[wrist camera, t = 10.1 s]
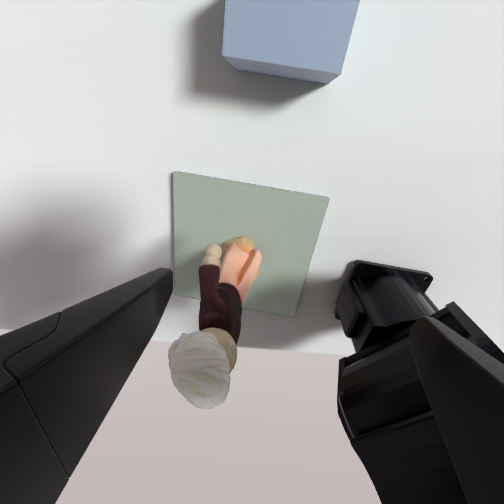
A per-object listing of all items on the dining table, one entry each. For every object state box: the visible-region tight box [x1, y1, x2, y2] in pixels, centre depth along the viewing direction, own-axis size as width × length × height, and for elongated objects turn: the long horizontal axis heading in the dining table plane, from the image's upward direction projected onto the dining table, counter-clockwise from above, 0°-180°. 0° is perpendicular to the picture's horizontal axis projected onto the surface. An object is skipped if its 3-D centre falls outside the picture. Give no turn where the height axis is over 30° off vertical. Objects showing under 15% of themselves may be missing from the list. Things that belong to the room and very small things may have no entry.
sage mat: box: [173, 171, 329, 317], centre depth 22 cm, size 12×12×1 cm
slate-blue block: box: [222, 0, 360, 84], centre depth 13 cm, size 6×4×4 cm, turn 82°
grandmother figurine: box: [168, 236, 262, 409], centre depth 16 cm, size 8×4×13 cm, turn 19°
